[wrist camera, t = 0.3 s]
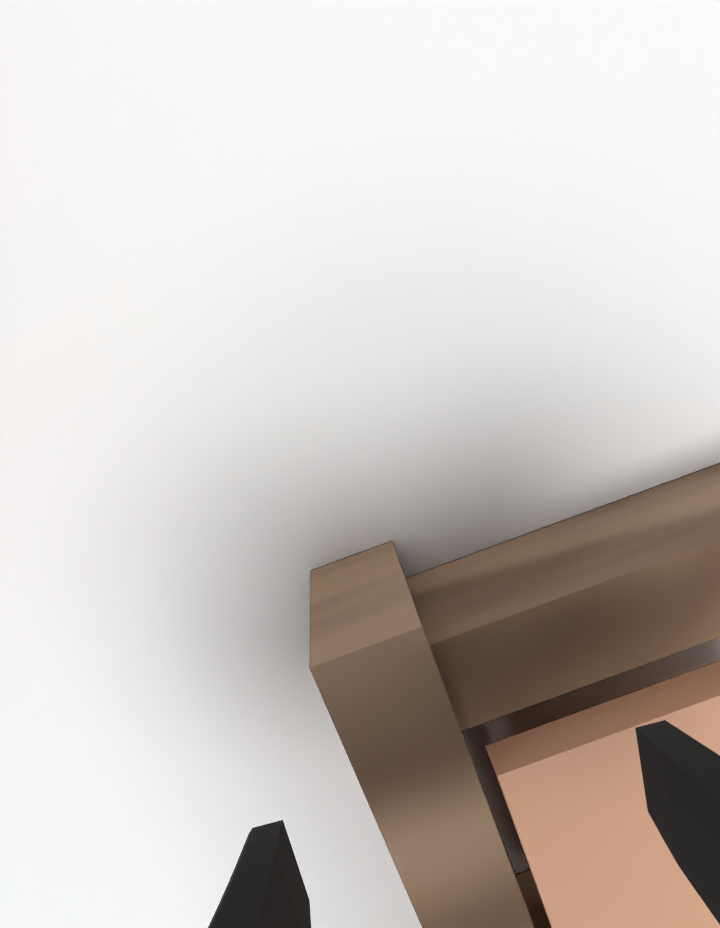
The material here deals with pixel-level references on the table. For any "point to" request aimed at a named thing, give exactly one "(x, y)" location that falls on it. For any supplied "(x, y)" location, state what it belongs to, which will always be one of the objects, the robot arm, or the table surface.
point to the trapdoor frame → (498, 669)
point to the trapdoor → (605, 808)
